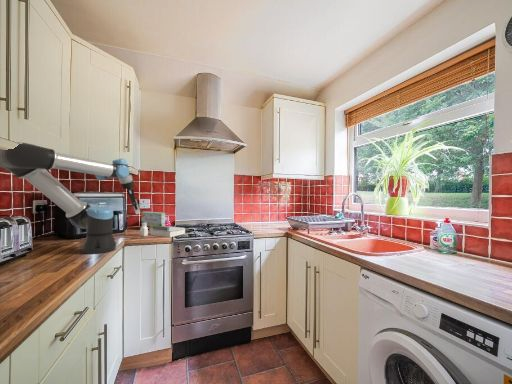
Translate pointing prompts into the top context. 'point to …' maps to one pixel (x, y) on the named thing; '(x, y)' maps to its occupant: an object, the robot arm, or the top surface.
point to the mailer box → (167, 233)
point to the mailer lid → (166, 228)
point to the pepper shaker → (144, 230)
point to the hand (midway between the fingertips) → (137, 210)
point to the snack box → (153, 219)
